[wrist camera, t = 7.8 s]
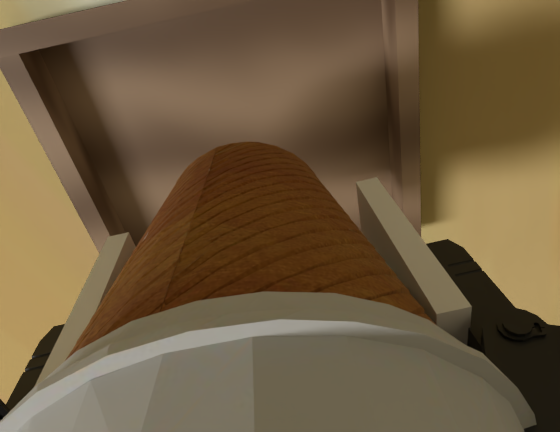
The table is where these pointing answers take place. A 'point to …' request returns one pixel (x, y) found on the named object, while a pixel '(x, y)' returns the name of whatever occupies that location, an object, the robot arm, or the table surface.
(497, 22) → the table surface
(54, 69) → the walnut tray
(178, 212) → the disposable coffee cup
